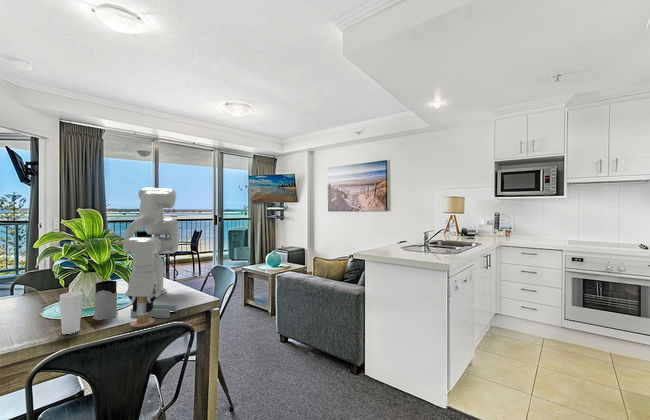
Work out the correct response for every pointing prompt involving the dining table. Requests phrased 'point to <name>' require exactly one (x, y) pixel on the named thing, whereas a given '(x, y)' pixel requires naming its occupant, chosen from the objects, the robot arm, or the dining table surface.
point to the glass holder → (105, 300)
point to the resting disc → (135, 324)
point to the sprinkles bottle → (142, 310)
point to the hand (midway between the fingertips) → (142, 310)
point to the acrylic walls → (158, 311)
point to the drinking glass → (71, 311)
